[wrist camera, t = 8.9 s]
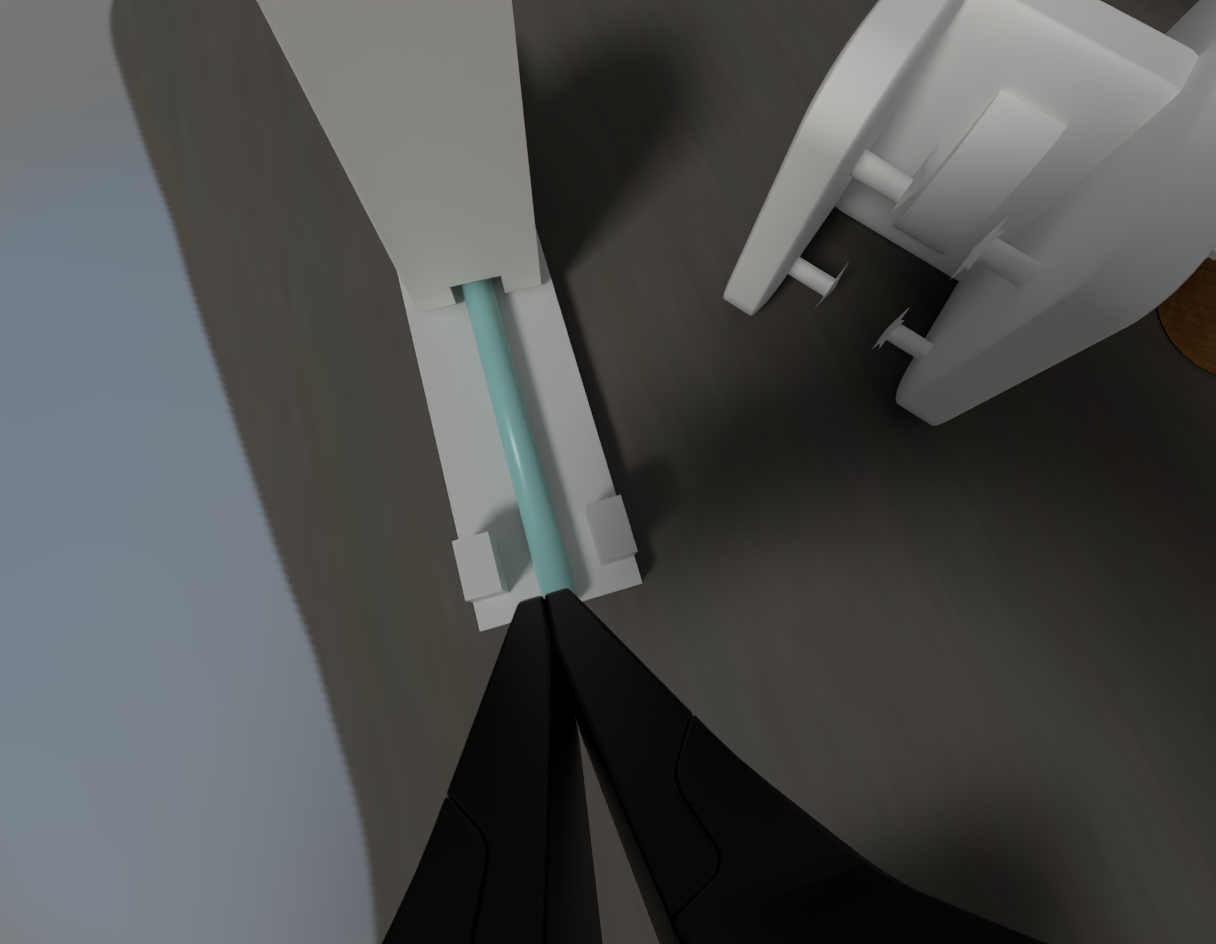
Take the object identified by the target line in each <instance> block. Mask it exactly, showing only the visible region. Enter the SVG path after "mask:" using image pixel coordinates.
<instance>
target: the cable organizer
mask: <svg viewBox="0 0 1216 944" xmlns="http://www.w3.org/2000/svg"><path fill="white" fill-rule="evenodd" d="M834 206H835V207H836V208H837V209H839V210H840V211H842V212H843V213H845V214H847V215H848V216H850V217H852V218H853V219H855V220H857V221H858V222H860V223H862V224H863V225H865V226H867V227H868V228H870V229H872V230H873V231H875V232H877V233H878V234H880V235H882V236H883V237H885V238H887V239H888V240H890V241H892V242H893V243H895V244H897V245H898V246H900V247H902V248H903V249H905V250H907V251H909V252H910V253H912V254H914V255H915V256H917V257H919V258H920V259H922V260H924V261H925V262H927V263H929V264H930V265H932V266H934V267H935V268H937V269H939V270H940V271H942V272H944V273H945V274H947V275H949V276H950V277H951V278H954V279H956V280H958V281H959V282H958V283H957V285H956V287H955V288H954V290H953V292H952V294H951V295H950V297H949V299H948V300H947V302H946V304H945V305H944V307H943V309H942V310H941V312H940V314H939V316H938V317H937V319H936V321H935V322H934V324H933V326H932V327H931V329H930V331H929V333H928V334H927V336H926V338H923V337H921V336H920V335H918V334H916V333H915V332H913V331H912V330H910V329H908V328H907V327H905V326H903V325H902V324H901V323H902V322H903V321H905V320H901V319H902V318H903V316H904V315H905V313H906V312H907V310H908V309H909V308H908V309H907V310H906V311H905V312H904V313H903V314H901V315H900V316H899V317H898V318H897V319H896V320H895V321H894V322H893V323H892V324H891V325H890V326H889V327H887V328H886V330H885V331H884V333H883V334H882V335H881V337H880V338H879V340H878V341H877V342H876V344H875V345H874V347H873V348H872V349H874V348H875V347H876V346H877V345H878V344H880V347H881V346H882V344H883V343H884V342H885V341H886V340H887V341H889V342H891V343H892V344H894V345H895V346H897V347H899V348H900V349H902V350H904V351H905V352H907V353H908V354H910V355H912V356H913V357H914V358H913V360H912V361H911V363H910V365H909V366H908V368H907V370H906V372H905V374H904V375H903V377H902V380H901V382H900V384H899V387H898V390H897V393H896V402H897V404H898V405H900V406H901V407H903V408H905V409H906V410H908V411H909V412H911V413H913V414H914V415H916V416H917V417H919V418H921V419H922V420H924V421H925V422H927V423H928V424H930V425H933V426H936V425H940V424H942V423H945V422H946V421H948V420H950V419H952V418H954V417H956V416H958V415H960V414H962V413H964V412H966V411H967V410H969V409H971V408H973V407H975V406H977V405H979V404H981V403H983V402H985V401H987V400H989V399H990V398H992V397H994V396H996V395H998V394H1000V393H1002V392H1004V391H1006V390H1008V389H1010V388H1011V387H1013V386H1015V385H1017V384H1019V383H1021V382H1023V381H1025V380H1027V379H1029V378H1031V377H1032V376H1034V375H1036V374H1038V373H1040V372H1042V371H1044V370H1046V369H1048V368H1050V367H1052V366H1053V365H1055V364H1057V363H1059V362H1061V361H1063V360H1065V359H1067V358H1069V357H1071V356H1073V355H1074V354H1076V353H1078V352H1080V351H1082V350H1084V349H1086V348H1088V347H1090V346H1092V345H1094V344H1095V343H1097V342H1099V341H1101V340H1103V339H1105V338H1107V337H1109V336H1111V335H1113V334H1115V333H1116V332H1118V331H1120V330H1122V329H1124V328H1126V327H1128V326H1130V325H1131V324H1133V323H1135V322H1136V321H1138V320H1140V319H1141V318H1142V317H1144V316H1145V315H1147V314H1148V313H1150V312H1151V311H1152V310H1153V309H1155V308H1156V307H1157V306H1158V305H1160V304H1161V303H1162V302H1163V301H1165V300H1166V299H1167V298H1168V297H1169V296H1170V295H1171V294H1172V293H1174V292H1175V291H1176V290H1177V289H1178V288H1179V287H1180V286H1181V285H1182V284H1183V283H1184V282H1185V281H1186V280H1187V279H1188V278H1189V277H1190V276H1191V275H1192V274H1193V273H1194V271H1195V270H1196V269H1197V268H1198V267H1199V266H1200V264H1201V263H1202V262H1203V261H1204V260H1205V259H1206V258H1208V257H1209V258H1211V259H1213V260H1215V259H1216V0H1199V1H1198V2H1197V3H1196V4H1195V5H1194V6H1193V7H1192V8H1191V9H1190V10H1189V11H1188V12H1187V13H1186V14H1185V15H1184V16H1183V17H1182V18H1181V19H1180V20H1179V21H1178V22H1177V23H1176V24H1175V25H1174V26H1173V27H1172V28H1171V29H1170V30H1169V31H1168V32H1167V33H1166V34H1163V33H1161V32H1159V31H1157V30H1155V29H1153V28H1151V27H1149V26H1148V25H1146V24H1144V23H1142V22H1140V21H1138V20H1136V19H1134V18H1132V17H1131V16H1129V15H1127V14H1125V13H1123V12H1121V11H1119V10H1117V9H1115V8H1114V7H1112V6H1110V5H1108V4H1106V3H1104V2H1102V1H1100V0H879V1H878V2H877V3H876V5H875V6H874V7H873V8H872V10H871V11H870V12H869V14H868V15H867V16H866V18H865V19H864V20H863V22H862V23H861V24H860V26H859V27H858V28H857V30H856V31H855V32H854V34H853V35H852V37H851V38H850V39H849V41H848V42H847V44H846V45H845V47H844V48H843V50H842V51H841V53H840V54H839V56H838V57H837V59H836V60H835V62H834V64H833V65H832V67H831V68H830V70H829V72H828V73H827V75H826V77H825V78H824V80H823V82H822V83H821V85H820V87H819V89H818V90H817V92H816V94H815V96H814V98H813V100H812V101H811V103H810V105H809V107H808V109H807V111H806V113H805V115H804V117H803V119H802V122H801V124H800V126H799V128H798V130H797V132H796V135H795V137H794V139H793V141H792V143H791V145H790V148H789V150H788V152H787V154H786V156H785V159H784V161H783V163H782V165H781V167H780V170H779V172H778V174H777V176H776V178H775V181H774V183H773V185H772V187H771V189H770V191H769V194H768V196H767V198H766V200H765V202H764V205H763V207H762V209H761V211H760V213H759V216H758V218H757V220H756V222H755V224H754V227H753V229H752V231H751V233H750V235H749V238H748V240H747V242H746V244H745V246H744V248H743V251H742V253H741V255H740V257H739V259H738V262H737V264H736V266H735V268H734V270H733V273H732V275H731V277H730V279H729V281H728V284H727V286H726V289H725V292H724V300H726V301H728V302H729V303H731V304H732V305H734V306H736V307H737V308H739V309H740V310H742V311H743V312H745V313H747V314H748V315H750V316H752V315H754V314H755V313H756V312H758V311H759V310H760V309H761V308H762V307H763V305H764V304H765V303H766V302H767V301H768V300H769V298H770V297H771V296H772V295H773V293H774V292H775V291H776V289H777V288H778V287H779V285H780V284H781V283H782V281H783V280H784V278H785V277H786V276H787V274H789V275H790V276H792V277H794V278H795V279H797V280H798V281H800V282H802V283H803V284H805V285H807V286H808V287H810V288H811V289H813V290H815V291H816V292H818V293H820V294H821V295H823V297H822V299H821V300H820V301H819V303H818V304H817V306H818V305H819V304H820V303H821V302H822V301H823V300H824V299H825V298H826V297H827V296H828V295H829V294H830V293H831V292H832V291H833V290H834V289H835V287H836V285H837V283H838V281H839V279H840V277H841V275H842V274H843V272H844V270H845V268H846V266H847V265H846V266H845V267H844V269H843V270H842V271H841V273H840V274H839V275H838V277H837V278H836V279H835V278H833V277H832V276H830V275H828V274H827V273H825V272H823V271H822V270H820V269H818V268H817V267H815V266H814V265H812V264H810V263H809V262H807V261H805V260H804V259H802V258H801V257H800V255H801V254H802V253H803V251H804V250H805V248H806V247H807V245H808V244H809V242H810V241H811V240H812V238H813V237H814V235H815V234H816V232H817V231H818V230H819V228H820V227H821V225H822V224H823V222H824V221H825V219H826V218H827V217H828V215H829V214H830V212H831V211H832V209H833V208H834ZM847 264H848V263H847ZM817 306H816V307H817ZM816 307H815V308H816ZM815 308H814V309H815ZM880 347H879V348H880ZM872 349H871V350H872Z"/></svg>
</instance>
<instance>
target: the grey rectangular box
mask: <svg viewBox="0 0 1216 944" xmlns="http://www.w3.org/2000/svg"><path fill="white" fill-rule="evenodd" d="M257 2H258V4H259V6H260V8H261V10H262V12H263V14H264V16H265V18H266V19H267V21H268V23H269V25H270V27H271V29H272V31H273V33H274V35H275V37H276V39H277V41H278V43H279V45H280V46H281V48H282V50H283V52H284V54H285V56H286V58H287V60H288V62H289V64H290V66H291V68H292V70H293V72H294V73H295V75H296V77H297V79H298V81H299V83H300V85H301V87H302V89H303V91H304V93H305V95H306V97H307V98H308V100H309V102H310V104H311V106H312V108H313V110H314V112H315V114H316V116H317V118H318V120H319V122H320V124H321V125H322V127H323V129H324V131H325V133H326V135H327V137H328V139H329V141H330V143H331V145H332V147H333V149H334V151H335V152H336V154H337V156H338V158H339V160H340V162H341V164H342V166H343V168H344V170H345V172H346V174H347V176H348V177H349V179H350V181H351V183H352V185H353V187H354V189H355V191H356V193H357V195H358V197H359V199H360V201H361V203H362V204H363V206H364V208H365V210H366V212H367V214H368V216H369V218H370V220H371V222H372V224H373V226H374V228H375V230H376V231H377V233H378V235H379V237H380V239H381V241H382V243H383V245H384V247H385V249H386V251H387V253H388V255H389V256H390V258H391V260H392V262H393V264H394V266H395V268H396V270H397V272H398V274H399V276H400V278H401V280H402V282H403V283H404V285H405V287H406V289H407V291H408V293H409V295H410V297H411V299H412V301H413V303H414V305H415V307H416V308H417V310H418V312H423V311H427V310H432V309H436V308H441V307H445V306H450V305H454V304H456V302H455V298H454V294H453V290H452V286H457V285H461V284H466V283H470V282H475V281H479V280H484V279H488V278H493V277H497V276H501V280H502V283H503V287H504V291H505V293H508V292H512V291H516V290H521V289H525V288H530V287H534V286H539V285H541V277H540V268H539V258H538V249H537V239H536V230H535V220H534V210H533V201H532V191H531V182H530V172H529V162H528V153H527V143H526V134H525V124H524V114H523V105H522V95H521V86H520V76H519V66H518V57H517V47H516V38H515V28H514V18H513V9H512V0H257Z"/></svg>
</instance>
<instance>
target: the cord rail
mask: <svg viewBox="0 0 1216 944" xmlns="http://www.w3.org/2000/svg"><path fill="white" fill-rule="evenodd" d="M535 230H536V227H535ZM536 239H537V249H538V258H539V268H540V277H541V285H539V286H534V287H530V288H525V289H521V290H516V291H512V292H508V293H505V291H504V287H503V283H502V280H501V276H497V277H493V278H488V279H484V280H479V281H475V282H470V283H466V284H461V285H457V286H452V290H453V294H454V298H455V302H456V304H454V305H450V306H445V307H441V308H436V309H432V310H427V311H423V312H418V310H417V308H416V307H415V305H414V303H413V301H412V299H411V297H410V295H409V293H408V291H407V289H406V287H405V285H404V283H403V282H402V280H401V278H400V276H399V274H398V277H399V282H400V286H401V290H402V295H403V299H404V303H405V308H406V312H407V317H408V321H409V325H410V330H411V334H412V338H413V343H414V347H415V351H416V356H417V360H418V364H419V369H420V373H421V377H422V382H423V386H424V391H425V395H426V399H427V404H428V408H429V412H430V417H431V421H432V425H433V430H434V434H435V438H436V443H437V447H438V451H439V456H440V460H441V465H442V469H443V473H444V478H445V482H446V486H447V491H448V495H449V499H450V504H451V508H452V512H453V517H454V521H455V525H456V530H457V534H458V540H454V541H452V544H453V548H454V553H455V557H456V562H457V566H458V570H459V575H460V579H461V584H462V588H463V592H464V597H465V601H468V602H473V604H474V608H475V613H476V617H477V621H478V626H479V630H480V631H485V630H488V629H492V628H495V627H499V626H502V625H505V624H509V623H511V620H512V618H513V615H514V612H515V610H516V607H517V605H518V603H519V602H520V601H523V600H526V599H529V598H533V597H536V596H543V597H544V599H545V595H546V594H547V593H550V592H553V591H557V590H560V589H564V588H569V589H570V590H571V591H572V592H573V593H574V594H575V595H576V596H577V597H578V598H579V599H580V600H581V601H582V602H583V601H586V600H590V599H593V598H596V597H600V596H603V595H606V594H610V593H613V592H616V591H620V590H623V589H627V588H630V587H633V586H637V585H640V584H642V580H641V576H640V573H639V570H638V566H637V563H636V560H635V556H634V555H635V554H636V553H637V552H638V550H637V547H636V544H635V541H634V537H633V534H632V531H631V527H630V524H629V521H628V517H627V514H626V511H625V507H624V504H623V501H622V497H621V495H618V496H616V493H615V490H614V486H613V483H612V480H611V476H610V473H609V470H608V466H607V463H606V460H605V456H604V453H603V450H602V446H601V443H600V440H599V436H598V433H597V430H596V426H595V423H594V420H593V416H592V413H591V410H590V406H589V403H588V400H587V396H586V393H585V390H584V386H583V383H582V380H581V377H580V373H579V370H578V367H577V363H576V360H575V357H574V353H573V350H572V347H571V343H570V340H569V337H568V333H567V330H566V327H565V323H564V320H563V317H562V313H561V310H560V307H559V303H558V300H557V297H556V293H555V290H554V287H553V283H552V280H551V277H550V273H549V270H548V267H547V263H546V260H545V257H544V253H543V250H542V247H541V243H540V240H539V237H538V233H537V230H536ZM397 273H398V272H397Z"/></svg>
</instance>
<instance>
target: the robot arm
mask: <svg viewBox="0 0 1216 944" xmlns="http://www.w3.org/2000/svg"><path fill="white" fill-rule="evenodd" d="M575 717H576V718H575ZM576 720H577V723H576ZM577 724H578V727H579V730H580V733H581V736H582V739H583V742H584V744H585V747H586V750H587V752H588V755H589V758H590V760H591V763H592V765H593V768H594V771H595V773H596V776H597V779H598V781H599V784H600V787H601V789H602V792H603V795H604V797H605V800H606V803H607V805H608V808H609V811H610V813H611V816H612V818H613V821H614V824H615V826H616V829H617V832H618V834H619V837H620V840H621V842H622V845H623V848H624V850H625V853H626V856H627V858H628V861H629V864H630V866H631V869H632V872H633V874H634V877H635V879H636V882H637V885H638V887H639V890H640V893H641V895H642V898H643V901H644V903H645V906H646V909H647V911H648V914H649V917H650V919H651V922H652V925H653V927H654V930H655V932H656V935H657V938H658V940H659V943H660V944H1047V943H1044V942H1042V941H1039V940H1037V939H1035V938H1032V937H1030V936H1027V935H1025V934H1022V933H1020V932H1017V931H1015V930H1013V929H1010V928H1008V927H1005V926H1003V925H1000V924H998V923H995V922H993V921H990V920H988V919H986V918H983V917H981V916H978V915H976V914H973V913H971V912H968V911H966V910H964V909H961V908H959V907H956V906H954V905H951V904H949V903H946V902H944V901H941V900H939V899H937V898H934V897H932V896H929V895H927V894H925V893H922V892H920V891H918V890H916V889H914V888H912V887H910V886H908V885H906V884H904V883H902V882H900V881H899V880H897V879H895V878H894V877H892V876H890V875H889V874H887V873H885V872H884V871H882V870H881V869H879V868H878V867H877V866H875V865H874V864H872V863H871V862H869V861H868V860H867V859H865V858H864V857H863V856H861V855H860V854H859V853H857V852H856V851H855V850H853V849H852V848H851V847H850V846H848V845H847V844H846V843H844V842H843V841H842V840H841V839H839V838H838V837H837V836H836V835H834V834H833V833H832V832H830V831H829V830H828V829H827V828H825V827H824V826H823V825H822V824H820V823H819V822H818V821H816V820H815V819H814V818H813V817H811V816H810V815H809V814H808V813H806V812H805V811H804V810H803V809H801V808H800V807H799V806H797V805H796V804H795V803H794V802H792V801H791V800H790V799H789V798H787V797H786V796H785V795H783V794H782V793H781V792H780V791H778V790H777V789H776V788H775V787H773V786H772V785H771V784H770V783H768V782H767V781H766V780H765V779H764V778H762V777H761V776H760V775H759V774H758V773H756V772H755V771H754V770H753V769H752V768H750V767H749V766H748V765H747V764H746V763H744V762H743V761H742V760H741V759H740V758H739V757H738V756H736V755H735V754H734V753H733V752H732V751H731V750H730V749H729V748H728V747H727V746H726V745H725V744H724V743H723V742H722V741H721V740H720V739H718V738H717V737H716V736H715V735H714V734H713V733H712V732H711V731H710V730H709V729H708V728H707V727H706V726H705V725H704V724H703V723H702V722H701V721H700V720H699V719H698V718H697V717H696V716H692V712H691V711H690V710H689V709H688V708H687V707H686V706H685V705H684V704H683V703H682V702H681V701H680V700H679V699H678V698H677V697H676V696H675V695H674V694H673V693H672V692H671V691H670V690H669V689H668V688H667V687H666V686H665V685H664V684H663V683H662V682H661V681H660V680H659V679H658V678H657V677H656V676H655V675H654V674H653V673H652V672H651V671H650V670H649V668H648V667H647V666H646V665H645V664H644V663H643V662H642V661H641V660H640V659H639V658H638V657H637V656H636V655H635V654H634V653H633V652H632V651H631V650H630V649H629V648H628V647H627V646H626V645H625V644H624V643H623V642H622V641H621V640H620V639H619V638H618V637H617V636H616V635H615V634H614V633H613V632H612V631H611V630H610V629H609V628H608V627H607V626H606V625H605V624H604V623H603V622H602V621H601V620H600V619H599V618H598V617H597V616H596V615H595V614H594V613H593V612H592V611H591V610H590V609H589V608H588V607H587V606H586V605H585V604H584V603H583V602H582V601H581V600H580V599H579V598H578V597H577V596H576V595H575V594H574V593H573V592H572V591H571V590H570V589H569V588H564V589H560V590H557V591H553V592H550V593H547V594H546V595H545V599H544V597H543V596H536V597H533V598H529V599H526V600H523V601H520V602H519V603H518V605H517V607H516V610H515V612H514V615H513V618H512V620H511V623H510V626H509V628H508V631H507V634H506V636H505V639H504V642H503V644H502V647H501V650H500V652H499V655H498V658H497V660H496V663H495V666H494V668H493V671H492V674H491V676H490V679H489V682H488V684H487V687H486V690H485V692H484V695H483V698H482V700H481V703H480V706H479V708H478V711H477V714H476V716H475V719H474V722H473V724H472V727H471V730H470V732H469V735H468V738H467V740H466V743H465V746H464V748H463V751H462V754H461V756H460V759H459V762H458V764H457V767H456V770H455V772H454V775H453V778H452V780H451V783H450V786H449V788H448V791H447V795H448V797H446V798H445V799H444V801H443V804H442V806H441V809H440V812H439V814H438V817H437V820H436V823H435V825H434V828H433V830H432V833H431V835H430V838H429V840H428V843H427V845H426V848H425V850H424V852H423V855H422V857H421V860H420V862H419V865H418V867H417V870H416V872H415V874H414V876H413V878H412V880H411V883H410V885H409V887H408V889H407V891H406V893H405V895H404V898H403V900H402V902H401V904H400V906H399V908H398V911H397V913H396V915H395V917H394V919H393V921H392V923H391V925H390V927H389V929H388V931H387V933H386V935H385V938H384V940H383V942H382V944H602V935H601V926H600V917H599V909H598V900H597V891H596V882H595V873H594V864H593V856H592V847H591V838H590V829H589V820H588V811H587V803H586V794H585V785H584V776H583V767H582V758H581V750H580V741H579V734H578V728H577Z"/></svg>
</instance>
